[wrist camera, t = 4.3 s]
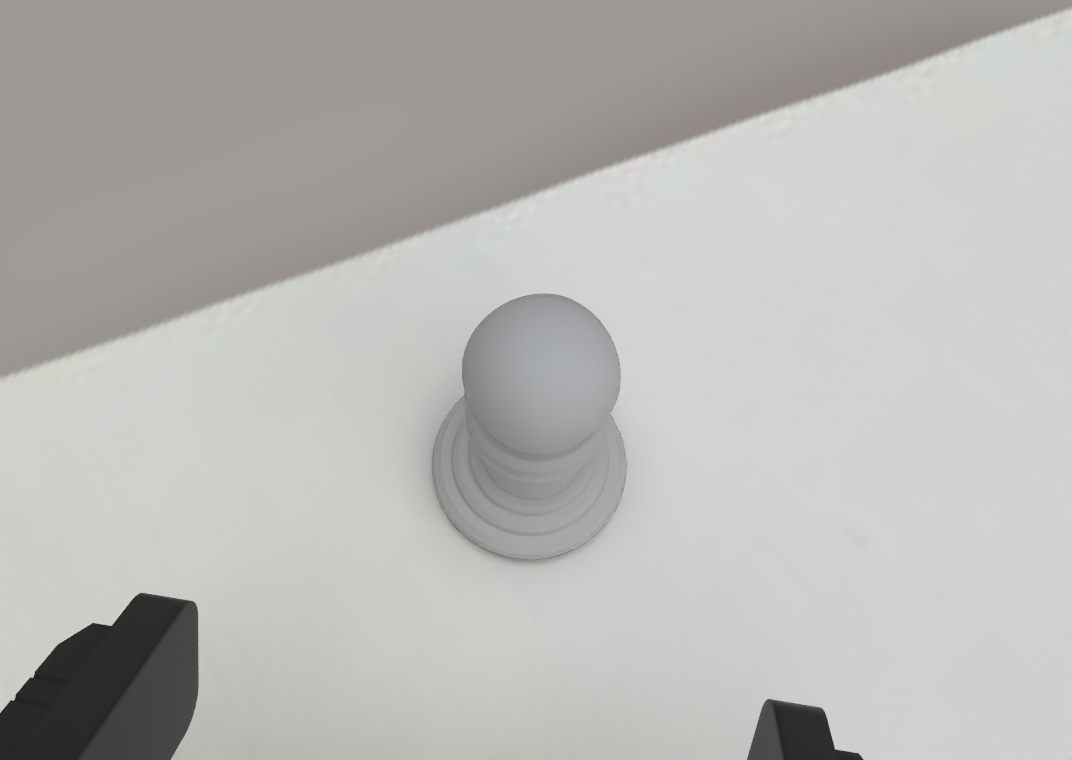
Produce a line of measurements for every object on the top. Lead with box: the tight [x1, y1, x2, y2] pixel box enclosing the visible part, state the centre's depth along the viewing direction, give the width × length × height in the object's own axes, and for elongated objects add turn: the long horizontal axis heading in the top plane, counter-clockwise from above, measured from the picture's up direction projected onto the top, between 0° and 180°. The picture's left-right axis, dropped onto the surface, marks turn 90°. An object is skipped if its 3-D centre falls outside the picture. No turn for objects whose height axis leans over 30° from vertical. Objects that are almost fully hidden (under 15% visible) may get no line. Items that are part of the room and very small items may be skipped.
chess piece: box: [432, 294, 627, 559], centre depth 23 cm, size 5×5×9 cm
